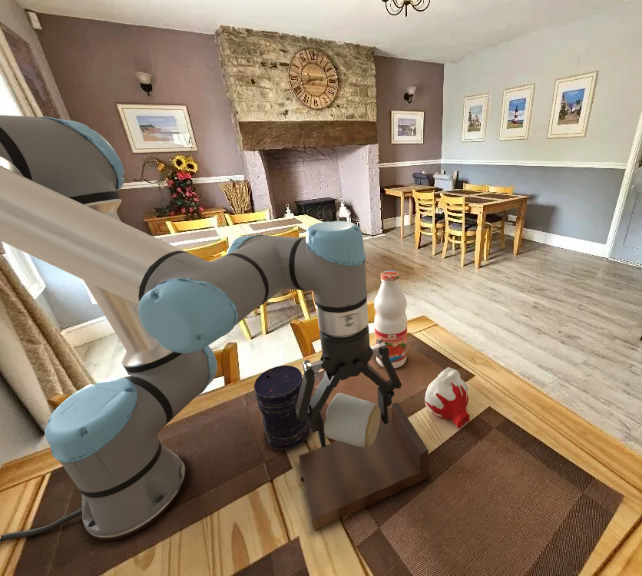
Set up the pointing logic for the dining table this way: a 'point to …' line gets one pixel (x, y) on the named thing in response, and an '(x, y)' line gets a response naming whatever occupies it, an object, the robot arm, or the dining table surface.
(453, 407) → the white red rounded piece
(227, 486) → the dining table surface
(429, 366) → the dining table surface
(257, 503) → the dining table surface
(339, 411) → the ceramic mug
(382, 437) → the dark wooden tray
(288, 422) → the storage jar
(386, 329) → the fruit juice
